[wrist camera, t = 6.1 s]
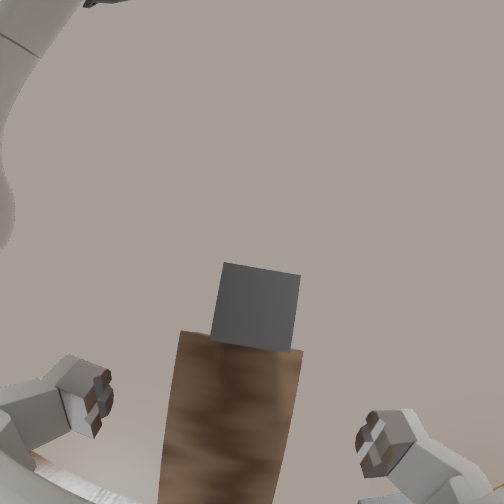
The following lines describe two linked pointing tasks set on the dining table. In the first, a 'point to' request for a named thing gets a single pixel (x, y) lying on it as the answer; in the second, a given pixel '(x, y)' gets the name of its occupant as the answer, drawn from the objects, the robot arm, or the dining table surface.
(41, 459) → the dining table surface
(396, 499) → the grey stand
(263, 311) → the plug
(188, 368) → the brown wooden block
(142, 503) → the dining table surface
